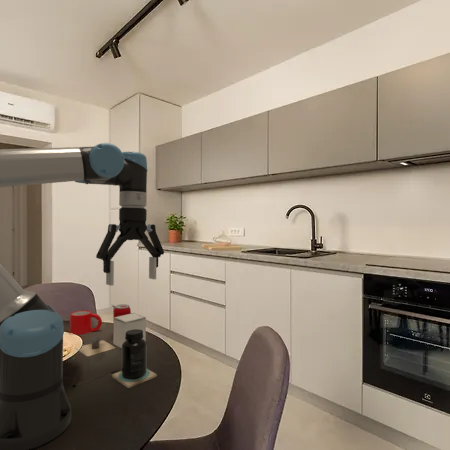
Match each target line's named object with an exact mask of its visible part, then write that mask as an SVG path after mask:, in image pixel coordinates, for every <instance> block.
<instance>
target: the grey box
mask: <svg viewBox="0 0 450 450" xmlns="http://www.w3.org/2000/svg"><path fill="white" fill-rule="evenodd" d="M146 323H147V319H146V316H142V315H141V314H138V313H135V312H132V313H131V314H127V315H122V316H118V317H114V336H112V337H113V338H112V339H113V346H115V347H118V348H120V349H122V344H123V343H124V342H125V341H126V340H125V334H126V332H127V331H129V330H133V329H140V330H143V338H142V339H144V340H145V341H146V342H147V337H146V332H147V328H146V327H147V324H146Z"/></svg>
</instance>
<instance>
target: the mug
mask: <svg viewBox="0 0 450 450" xmlns="http://www.w3.org/2000/svg"><path fill="white" fill-rule="evenodd" d="M93 318H94V319H96V320H97V325H96V326H95V327H93ZM102 324H103V321H102V318H101V316H100V315H99V314H96V313H93V312H92V311H91V310H85V309H84V310H77V311H75V310H74V311H73V312H71V313H69V334H70V333H73V334H76V335H75V336H77V335H78V336H80V335H85V334H88V333H92V332H96V331H99V330H100V328H101V327H102ZM73 334H72V335H73Z"/></svg>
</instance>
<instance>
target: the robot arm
mask: <svg viewBox="0 0 450 450" xmlns="http://www.w3.org/2000/svg"><path fill="white" fill-rule="evenodd" d="M66 182H67V183H69V182H74V183H79V184H85V185H101V186H102V185H103V186H104V185H105V186H106V185H107V186H118V187H119V194H118V195H119V199H118V200H119V201H118V204H119V206H120V208H119V209H118V212H119V213H118V220H119V224H115V223H110V224H108V226H107V232H106V235H105V236H104V238H103V241H102V243H101V244H100V247H99V249H98V251H97V253H96V255H95V258H96V259H99V260H102V261H103V263H102V265H103V270H102V271H103V273H104V274H106V275H105V284H106V286H114V283H115V281H114V279H115V278H114V275H115V274H114V272H115V268H114V267H115V261H113V260H112V259H113V258H114V256H116V254H117V253H118V251H119V250H120V249H121V247H122V246H123V245H124V243H127V242H126V241H140V242H141V244H142V245H143V246H144V247H145V249H146V250H147V252H148V253H149V254H150V256H149V257H148V261H149V262H148V279H150V280H157V269H158V267H159V258H161V256H163V255H164V254H165V251H164V247H163V246H162V243H161V241H160V239H159V236H158V233H157V230H156V224H153V223H152V224H151V223H150V224H147V223H146V222H147V218H148V217H147V212H148V211H147V208H145V207H147V192H148V191H147V183H148V161H147V156H146V155H145V154H144V153H141V152H137V151H123V152H122V150H121V149H120V148H119V147H118V146H116V145H115V144H113V143H111V142H110V143H109V142H102V143H99V144H96V145H94V146H79V147H78V146H74V147H70V146H68V147H65V146H64V147H41V148H40V147H38V148H36V147H35V148H31V147H29V148H3V149H0V188H7V187H8V188H9V187H19V186H20V187H21V186H31V185H44V184H55V183H56V184H57V183H66ZM118 231H119V235H117V237H116V240H115V241H114V238H115V236H116V233H117V232H118ZM146 232H147V234H148V236H149V237H148V236H147V234H146ZM149 239H150V240H149ZM113 241H114V242H113ZM112 242H113V244H112ZM63 320H64V319H63V318H62V316H61V315H60V314H59V313H58V312H56V310H55V309H54V308H53V307H52V306H51V305H48V304H46V302H45V301H44V300H43V299H41V297H40V296H39V295H38V294H37V292H36V291H29V290H24V289H23V287H21V285H20V284H19V283H18V282H17V280H15V278H14V277H13V276H12V274H10V273H9V271H7V269H6V268H5V267H4V265H2V264H1V263H0V450H29V449H30V450H32V449H36V448H39V447H41V446H43V445H45V444H47V443H49V442H51V441H53V440H54V439H56V438H58V437H59V436H60V435H61V434H63V433H64V432H65V430H66V429H68V427H69V426H70V424H71V421H72V405H71V403H70V401H69V398H68V394H67V393H66V389H65V386H64V383H63V382H64V381H63V380H64V379H63V378H64V377H63V376H64V374H63V373H64V335H65V334H64V333H65V326H64V321H63Z"/></svg>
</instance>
